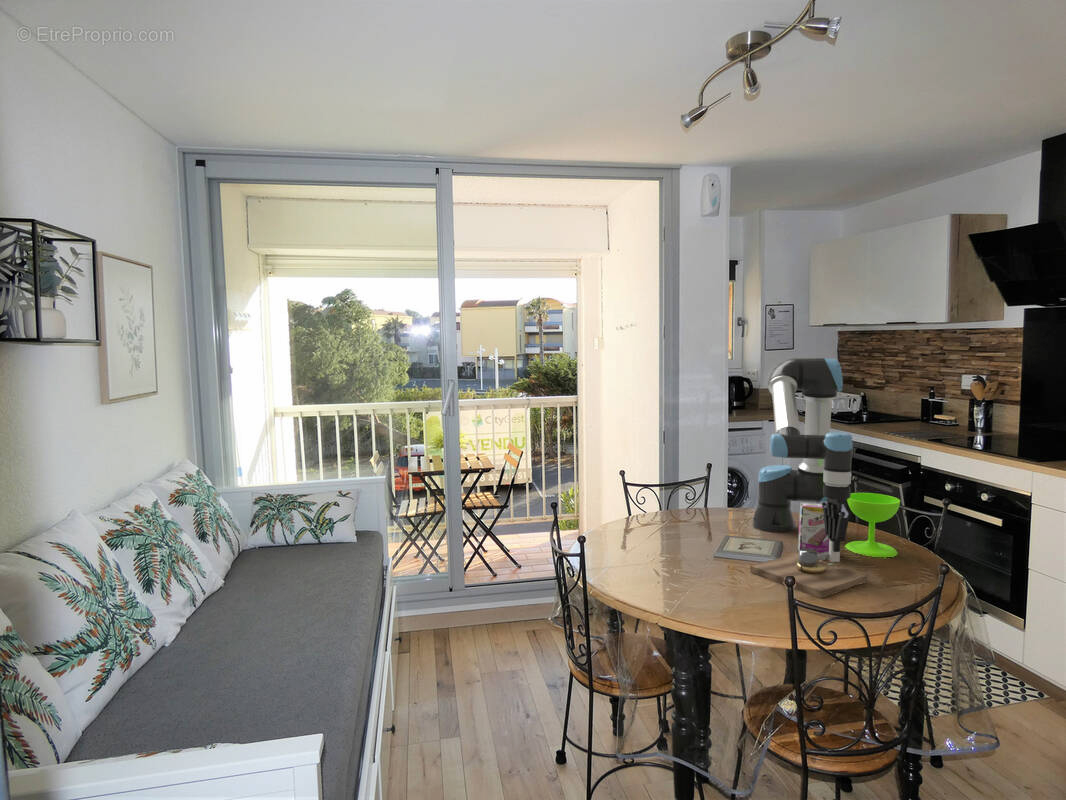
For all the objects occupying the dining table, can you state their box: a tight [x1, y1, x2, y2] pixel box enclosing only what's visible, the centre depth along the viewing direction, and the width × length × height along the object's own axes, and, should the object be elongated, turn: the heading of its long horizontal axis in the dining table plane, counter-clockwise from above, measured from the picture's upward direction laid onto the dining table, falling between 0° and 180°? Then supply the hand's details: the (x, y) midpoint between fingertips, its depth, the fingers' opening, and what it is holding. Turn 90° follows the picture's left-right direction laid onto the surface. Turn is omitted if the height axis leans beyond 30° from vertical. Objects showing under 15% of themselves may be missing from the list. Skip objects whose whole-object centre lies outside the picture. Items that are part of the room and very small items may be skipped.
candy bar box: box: [797, 502, 829, 553], centre depth 216 cm, size 11×5×16 cm, turn 74°
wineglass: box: [844, 492, 901, 559], centre depth 218 cm, size 16×16×18 cm
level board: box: [749, 552, 868, 599], centre depth 195 cm, size 24×22×2 cm
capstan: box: [797, 548, 842, 573], centre depth 197 cm, size 16×8×6 cm, turn 115°
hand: (834, 561), depth 197 cm, fingers closed
